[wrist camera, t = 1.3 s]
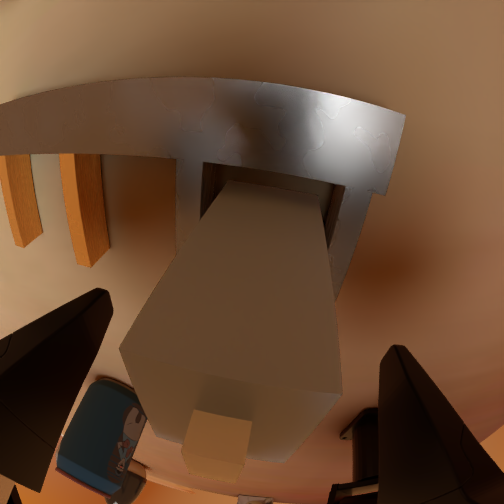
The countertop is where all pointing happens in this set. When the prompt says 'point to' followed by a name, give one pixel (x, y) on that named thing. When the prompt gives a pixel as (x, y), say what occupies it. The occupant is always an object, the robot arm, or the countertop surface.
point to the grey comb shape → (196, 150)
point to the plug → (240, 334)
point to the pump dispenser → (130, 485)
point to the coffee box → (254, 500)
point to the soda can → (102, 437)
